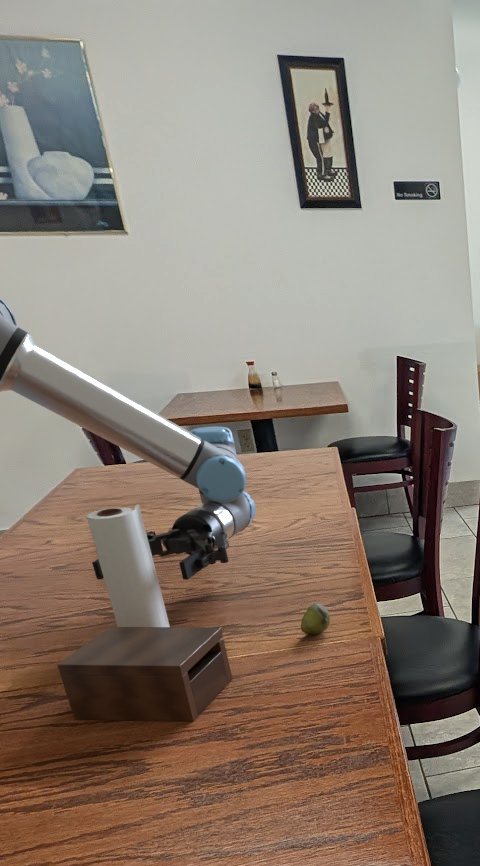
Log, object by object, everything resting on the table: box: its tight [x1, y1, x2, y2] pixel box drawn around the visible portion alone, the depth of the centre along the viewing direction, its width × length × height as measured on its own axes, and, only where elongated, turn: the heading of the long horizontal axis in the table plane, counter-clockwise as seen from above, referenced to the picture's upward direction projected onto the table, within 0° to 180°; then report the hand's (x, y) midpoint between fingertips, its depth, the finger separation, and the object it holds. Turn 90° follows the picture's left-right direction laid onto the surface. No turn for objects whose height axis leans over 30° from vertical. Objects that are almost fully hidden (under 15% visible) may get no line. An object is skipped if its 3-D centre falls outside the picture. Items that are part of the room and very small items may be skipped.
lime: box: [300, 603, 331, 636], centre depth 129 cm, size 4×5×5 cm
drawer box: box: [56, 626, 233, 722], centre depth 110 cm, size 16×12×8 cm
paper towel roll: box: [86, 503, 171, 627], centre depth 123 cm, size 7×6×21 cm
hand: (139, 571), depth 124 cm, fingers open, 13 cm apart
